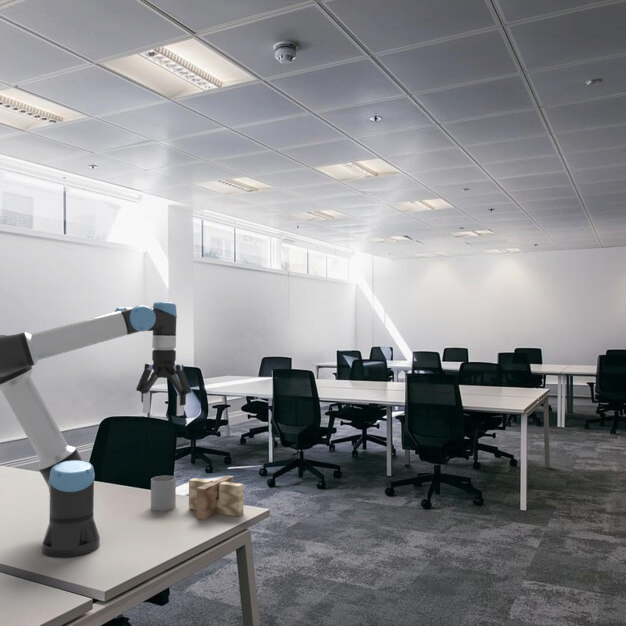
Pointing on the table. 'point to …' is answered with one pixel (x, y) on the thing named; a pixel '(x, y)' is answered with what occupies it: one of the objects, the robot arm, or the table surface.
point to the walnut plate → (209, 497)
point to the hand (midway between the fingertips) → (163, 414)
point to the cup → (163, 492)
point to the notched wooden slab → (220, 496)
